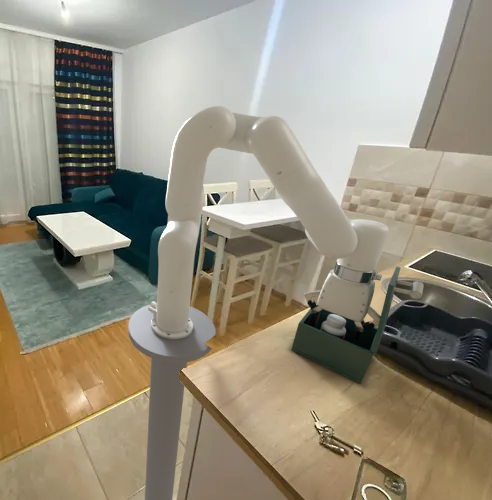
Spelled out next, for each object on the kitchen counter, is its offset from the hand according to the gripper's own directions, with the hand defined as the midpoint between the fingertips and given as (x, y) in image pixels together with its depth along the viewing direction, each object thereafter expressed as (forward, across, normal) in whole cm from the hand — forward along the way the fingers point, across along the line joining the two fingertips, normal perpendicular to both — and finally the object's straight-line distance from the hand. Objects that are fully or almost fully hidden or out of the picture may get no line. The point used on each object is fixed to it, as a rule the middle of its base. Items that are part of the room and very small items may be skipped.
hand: (332, 332), depth 75 cm
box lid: (-11, -8, 0) cm, 13 cm away
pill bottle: (+6, 0, 0) cm, 6 cm away
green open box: (+6, -1, 0) cm, 6 cm away
